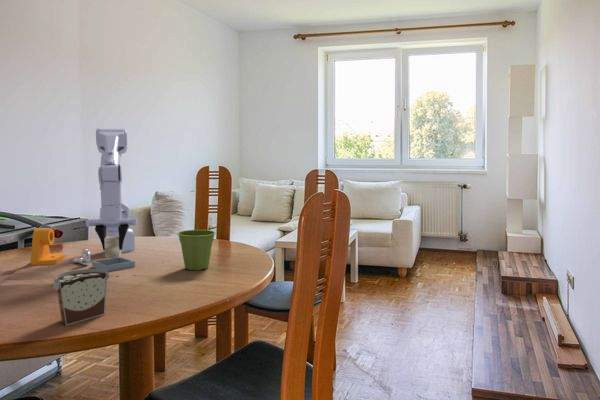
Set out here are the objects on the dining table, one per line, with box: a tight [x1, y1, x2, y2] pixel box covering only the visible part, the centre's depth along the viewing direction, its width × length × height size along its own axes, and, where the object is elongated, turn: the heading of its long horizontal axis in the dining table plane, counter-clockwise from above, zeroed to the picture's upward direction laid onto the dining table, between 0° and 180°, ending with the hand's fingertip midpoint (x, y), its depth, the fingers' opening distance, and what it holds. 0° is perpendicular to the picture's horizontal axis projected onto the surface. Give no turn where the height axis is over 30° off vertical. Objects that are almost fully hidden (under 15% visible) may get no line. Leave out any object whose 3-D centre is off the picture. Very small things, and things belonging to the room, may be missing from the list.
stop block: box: [104, 236, 122, 259], centre depth 159 cm, size 4×4×6 cm
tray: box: [91, 256, 136, 273], centre depth 160 cm, size 9×9×3 cm
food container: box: [52, 268, 110, 327], centre depth 115 cm, size 12×6×10 cm, turn 145°
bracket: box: [30, 227, 67, 266], centre depth 168 cm, size 11×7×12 cm, turn 6°
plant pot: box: [176, 229, 217, 271], centre depth 163 cm, size 12×12×11 cm
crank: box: [72, 248, 91, 266], centre depth 164 cm, size 9×3×5 cm, turn 45°
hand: (113, 249), depth 159 cm, fingers closed on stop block, 4 cm apart
